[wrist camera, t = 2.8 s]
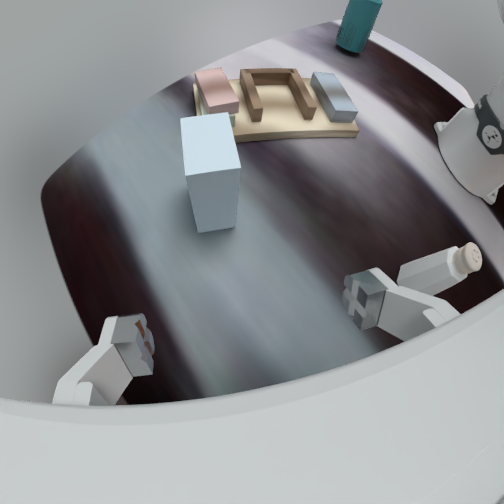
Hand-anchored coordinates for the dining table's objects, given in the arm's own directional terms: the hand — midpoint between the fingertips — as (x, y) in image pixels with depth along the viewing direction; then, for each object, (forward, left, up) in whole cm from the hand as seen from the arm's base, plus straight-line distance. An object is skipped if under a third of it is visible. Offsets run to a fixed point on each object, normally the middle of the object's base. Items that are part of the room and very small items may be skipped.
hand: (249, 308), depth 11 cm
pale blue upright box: (-4, -13, -17) cm, 21 cm away
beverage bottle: (-47, -35, -17) cm, 61 cm away
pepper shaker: (-20, +7, -17) cm, 28 cm away
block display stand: (-19, -23, -17) cm, 34 cm away
